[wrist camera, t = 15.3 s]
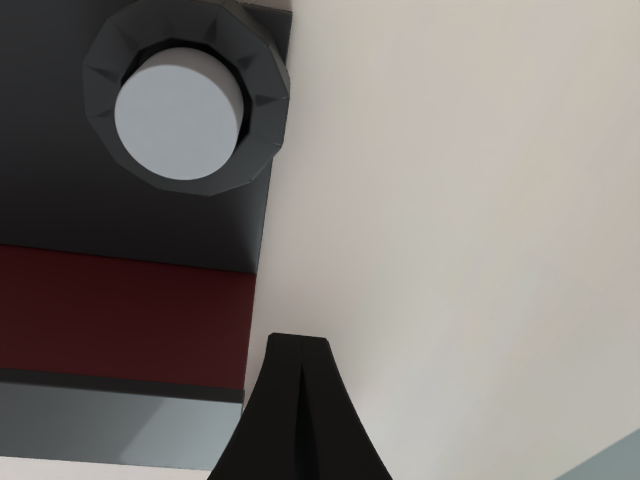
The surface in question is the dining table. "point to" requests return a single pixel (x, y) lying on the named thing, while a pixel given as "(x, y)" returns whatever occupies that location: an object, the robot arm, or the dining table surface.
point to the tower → (120, 358)
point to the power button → (180, 114)
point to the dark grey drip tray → (103, 139)
